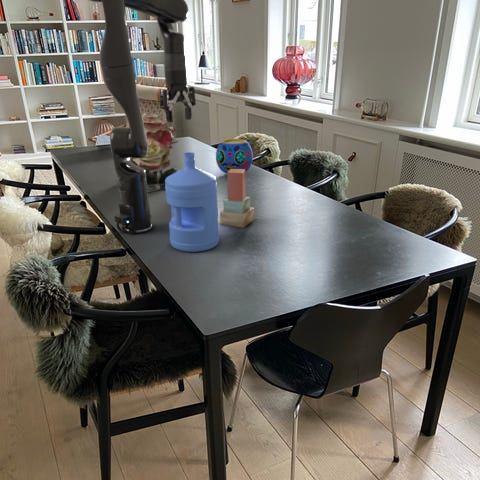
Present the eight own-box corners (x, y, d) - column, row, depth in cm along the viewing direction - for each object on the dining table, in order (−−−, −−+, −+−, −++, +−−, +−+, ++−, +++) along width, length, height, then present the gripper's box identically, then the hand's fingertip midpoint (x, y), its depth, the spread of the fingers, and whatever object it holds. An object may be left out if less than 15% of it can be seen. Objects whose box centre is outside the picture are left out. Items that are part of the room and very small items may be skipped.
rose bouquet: (115, 181, 223) (105, 110, 208) (177, 174, 232) (172, 106, 216) (124, 196, 202) (114, 119, 187) (192, 188, 211) (187, 114, 196)
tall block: (242, 201, 166) (242, 173, 161) (228, 200, 167) (227, 172, 162) (245, 196, 171) (245, 169, 166) (231, 196, 172) (230, 168, 167)
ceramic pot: (211, 177, 226) (210, 144, 218) (221, 168, 241) (220, 137, 233) (248, 179, 222) (248, 145, 215) (256, 170, 237) (256, 138, 229)
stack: (243, 227, 168) (242, 203, 164) (220, 224, 172) (219, 200, 167) (253, 219, 175) (254, 196, 171) (231, 216, 178) (231, 193, 174)
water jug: (194, 231, 166) (188, 146, 151) (229, 241, 157) (226, 152, 143) (160, 245, 155) (150, 154, 141) (195, 257, 147) (189, 162, 132)
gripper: (166, 70, 155) (171, 124, 163) (199, 68, 164) (201, 119, 172) (151, 69, 159) (156, 122, 168) (184, 67, 169) (187, 117, 177)
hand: (179, 120), depth 170 cm, fingers open, 8 cm apart
